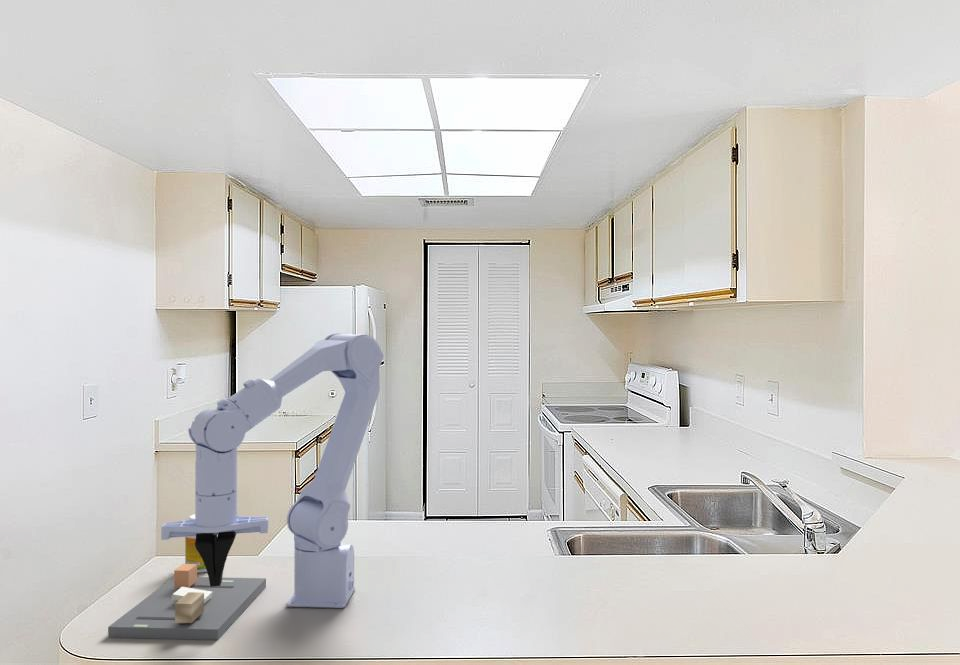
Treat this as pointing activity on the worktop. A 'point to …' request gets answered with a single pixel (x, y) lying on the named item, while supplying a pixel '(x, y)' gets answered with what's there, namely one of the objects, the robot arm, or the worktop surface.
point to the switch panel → (219, 614)
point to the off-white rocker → (185, 590)
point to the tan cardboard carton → (189, 607)
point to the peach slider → (185, 575)
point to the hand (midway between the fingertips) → (216, 583)
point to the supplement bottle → (193, 552)
